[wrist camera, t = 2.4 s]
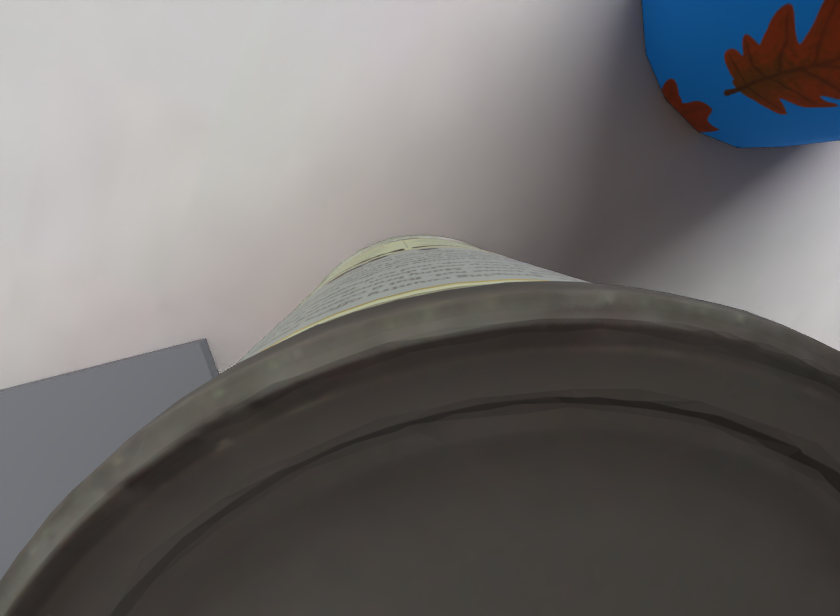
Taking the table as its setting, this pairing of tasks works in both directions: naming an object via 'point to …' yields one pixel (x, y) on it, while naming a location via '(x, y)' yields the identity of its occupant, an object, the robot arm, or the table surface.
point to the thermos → (749, 67)
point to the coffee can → (469, 461)
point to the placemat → (81, 429)
